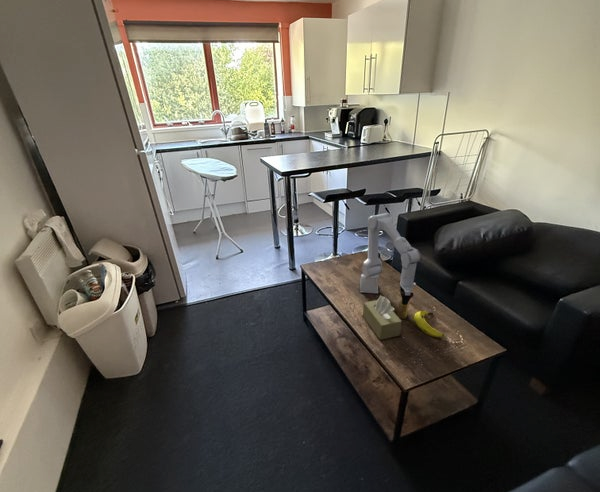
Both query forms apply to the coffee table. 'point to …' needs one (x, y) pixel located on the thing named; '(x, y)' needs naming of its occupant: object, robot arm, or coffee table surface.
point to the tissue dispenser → (382, 318)
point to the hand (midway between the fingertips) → (403, 299)
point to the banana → (426, 324)
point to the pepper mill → (402, 310)
